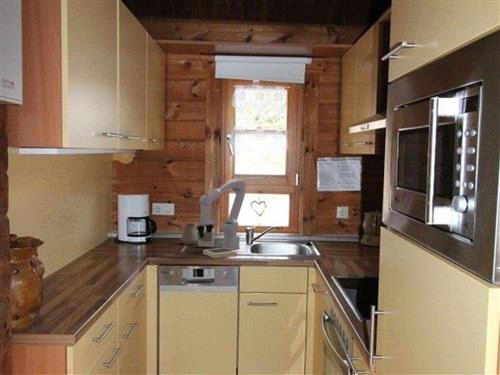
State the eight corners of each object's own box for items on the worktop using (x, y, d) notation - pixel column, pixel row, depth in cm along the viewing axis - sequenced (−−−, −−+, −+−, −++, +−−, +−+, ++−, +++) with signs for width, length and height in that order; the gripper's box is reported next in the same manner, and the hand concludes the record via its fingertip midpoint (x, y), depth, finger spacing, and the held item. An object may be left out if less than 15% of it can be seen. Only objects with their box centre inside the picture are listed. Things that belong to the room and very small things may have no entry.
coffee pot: (191, 241, 308) (192, 219, 307) (201, 244, 300) (202, 221, 299) (164, 244, 294) (164, 221, 293) (174, 247, 286) (174, 224, 285)
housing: (203, 239, 282) (203, 231, 282) (211, 241, 276) (212, 233, 276) (197, 240, 279) (197, 231, 278) (205, 242, 273) (206, 233, 273)
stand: (224, 251, 278) (224, 247, 278) (236, 255, 268) (236, 251, 268) (203, 254, 270) (203, 249, 269) (214, 258, 259) (214, 253, 259)
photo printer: (213, 245, 296) (214, 226, 295) (214, 247, 292) (214, 227, 291) (197, 245, 295) (198, 226, 294) (198, 247, 290) (198, 227, 290)
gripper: (210, 213, 284) (210, 235, 285) (191, 215, 274) (191, 237, 275) (217, 215, 279) (217, 237, 280) (198, 216, 269) (198, 239, 270)
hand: (204, 237), depth 277 cm, fingers closed on housing, 4 cm apart
